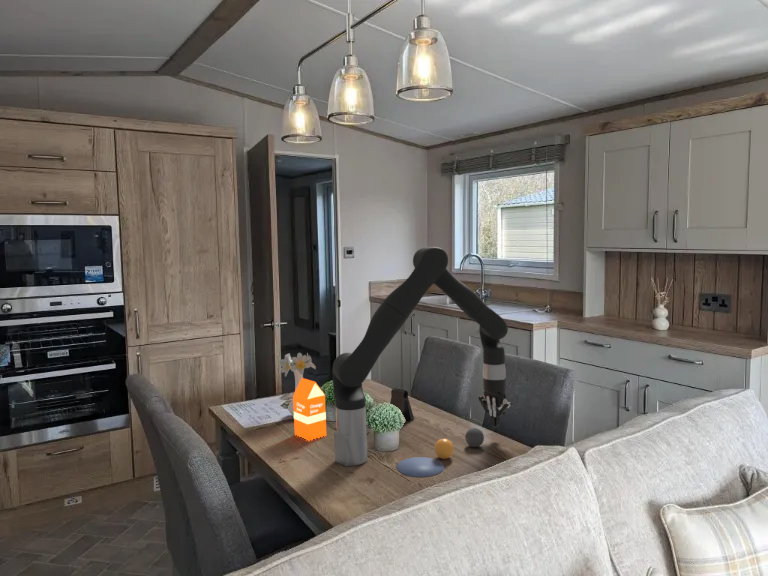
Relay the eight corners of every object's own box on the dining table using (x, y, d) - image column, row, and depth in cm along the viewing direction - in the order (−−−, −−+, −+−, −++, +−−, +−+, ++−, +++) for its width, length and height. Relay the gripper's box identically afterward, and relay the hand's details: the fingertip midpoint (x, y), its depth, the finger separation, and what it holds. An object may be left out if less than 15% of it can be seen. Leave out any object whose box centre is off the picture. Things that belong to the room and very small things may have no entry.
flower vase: (298, 407, 229) (295, 347, 227) (326, 416, 216) (324, 353, 214) (271, 414, 220) (268, 352, 218) (298, 425, 207) (296, 359, 204)
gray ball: (475, 451, 177) (475, 433, 177) (461, 446, 182) (461, 428, 181) (487, 446, 181) (487, 428, 180) (474, 441, 185) (473, 424, 185)
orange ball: (444, 463, 168) (443, 444, 168) (430, 457, 173) (430, 439, 172) (458, 458, 172) (457, 439, 172) (444, 452, 177) (443, 434, 176)
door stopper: (397, 425, 203) (397, 393, 202) (386, 422, 208) (385, 390, 206) (414, 419, 210) (413, 388, 209) (402, 416, 214) (401, 385, 213)
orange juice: (308, 441, 190) (305, 384, 188) (294, 435, 197) (291, 379, 195) (327, 435, 195) (324, 379, 193) (312, 429, 202) (310, 375, 200)
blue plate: (419, 481, 156) (419, 480, 156) (387, 466, 167) (387, 465, 167) (453, 467, 165) (453, 466, 165) (421, 454, 176) (421, 453, 176)
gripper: (471, 374, 188) (472, 424, 190) (502, 381, 178) (503, 434, 180) (486, 370, 193) (487, 419, 195) (517, 377, 183) (518, 428, 184)
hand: (495, 426), depth 187 cm, fingers closed
